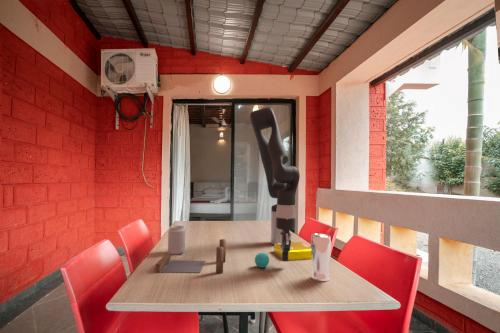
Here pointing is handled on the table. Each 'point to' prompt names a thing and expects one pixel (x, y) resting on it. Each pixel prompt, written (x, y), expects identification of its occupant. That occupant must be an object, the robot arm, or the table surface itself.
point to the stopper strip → (162, 262)
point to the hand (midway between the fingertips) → (285, 260)
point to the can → (176, 240)
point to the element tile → (295, 251)
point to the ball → (261, 260)
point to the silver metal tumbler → (320, 256)
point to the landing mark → (184, 266)
